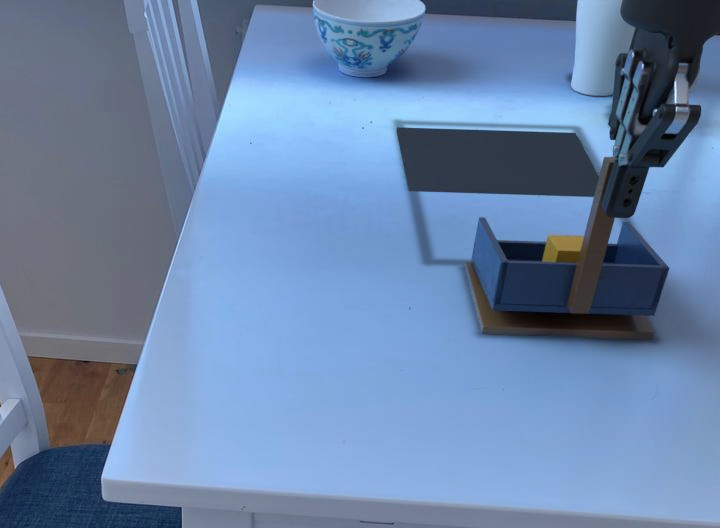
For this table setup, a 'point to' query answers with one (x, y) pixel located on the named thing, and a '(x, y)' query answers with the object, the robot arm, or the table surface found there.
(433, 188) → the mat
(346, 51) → the chinaware
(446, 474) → the table surface
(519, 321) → the stand
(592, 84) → the cup
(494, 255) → the tray
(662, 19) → the robot arm
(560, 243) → the block
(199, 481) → the table surface
